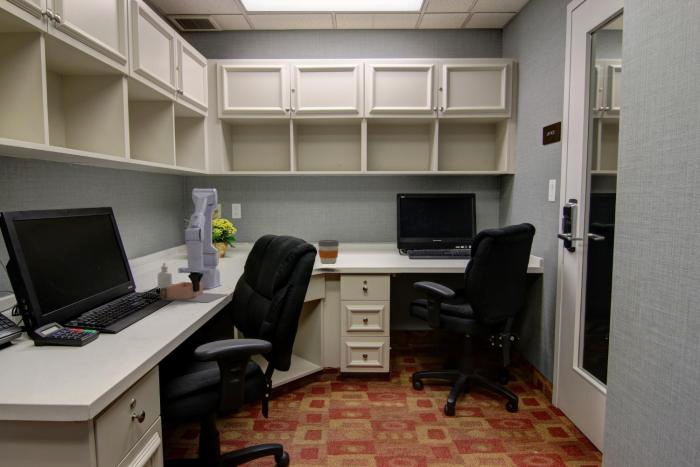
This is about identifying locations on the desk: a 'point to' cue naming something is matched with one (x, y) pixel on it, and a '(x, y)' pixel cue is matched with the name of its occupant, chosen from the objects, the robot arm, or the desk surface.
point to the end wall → (163, 293)
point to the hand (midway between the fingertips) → (196, 291)
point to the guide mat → (201, 298)
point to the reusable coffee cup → (328, 251)
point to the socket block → (183, 290)
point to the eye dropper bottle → (164, 277)
